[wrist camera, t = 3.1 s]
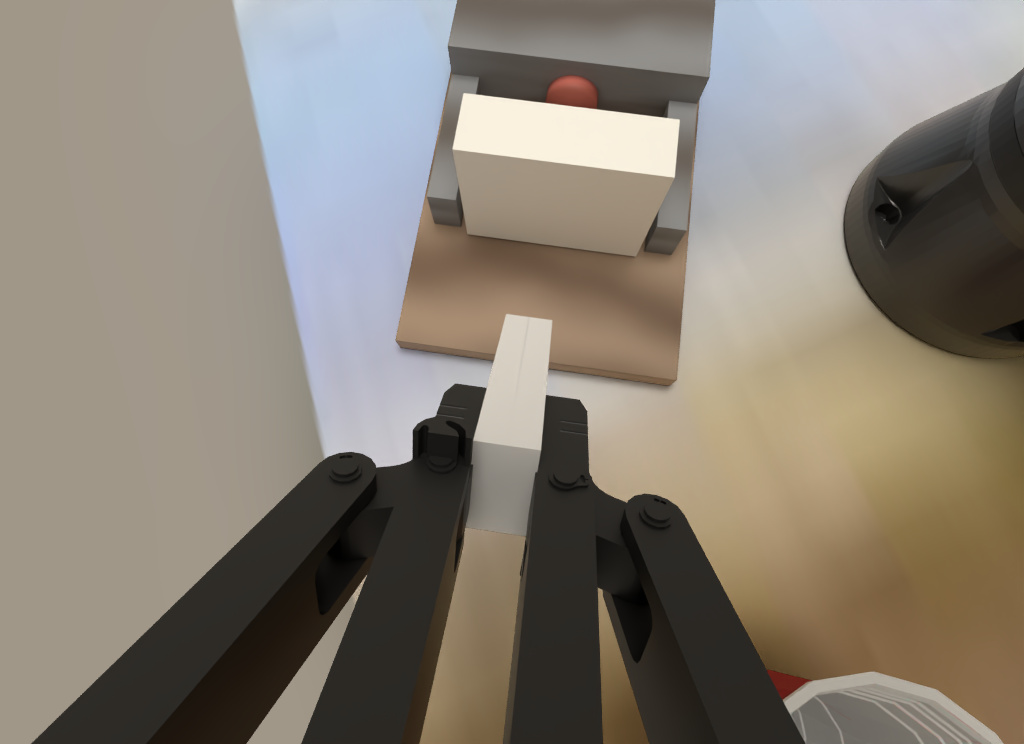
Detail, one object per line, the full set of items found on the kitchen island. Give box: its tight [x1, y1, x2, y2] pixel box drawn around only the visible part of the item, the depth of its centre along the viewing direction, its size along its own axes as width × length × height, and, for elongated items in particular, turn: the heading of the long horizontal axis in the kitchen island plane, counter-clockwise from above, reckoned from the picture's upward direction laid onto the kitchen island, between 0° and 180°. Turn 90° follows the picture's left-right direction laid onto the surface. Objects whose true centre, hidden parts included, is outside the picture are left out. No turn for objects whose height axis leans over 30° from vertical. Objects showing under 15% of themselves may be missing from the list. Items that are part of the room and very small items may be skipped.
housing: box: [396, 0, 715, 386], centre depth 32 cm, size 22×16×6 cm
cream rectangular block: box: [452, 93, 680, 257], centre depth 29 cm, size 3×10×8 cm, turn 82°
